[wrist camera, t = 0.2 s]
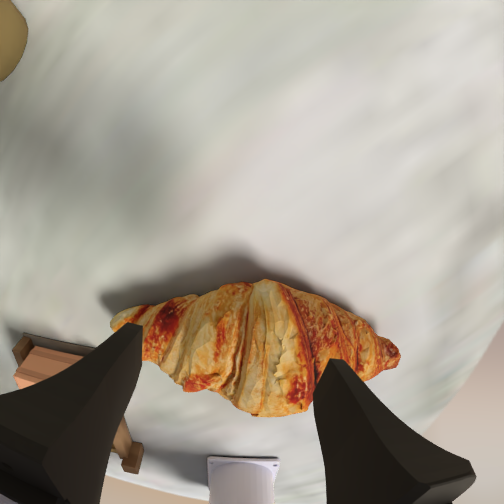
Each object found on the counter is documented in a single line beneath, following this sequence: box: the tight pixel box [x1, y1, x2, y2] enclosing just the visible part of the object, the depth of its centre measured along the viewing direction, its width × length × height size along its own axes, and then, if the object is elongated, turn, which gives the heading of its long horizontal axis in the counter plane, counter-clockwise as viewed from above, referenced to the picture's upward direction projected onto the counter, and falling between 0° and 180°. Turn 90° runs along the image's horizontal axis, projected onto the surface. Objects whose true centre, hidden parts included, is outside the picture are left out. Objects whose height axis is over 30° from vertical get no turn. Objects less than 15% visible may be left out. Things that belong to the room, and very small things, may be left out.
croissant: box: [110, 279, 401, 417], centre depth 21 cm, size 21×10×8 cm, turn 83°
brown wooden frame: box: [12, 333, 144, 474], centre depth 25 cm, size 15×11×4 cm
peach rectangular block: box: [13, 346, 83, 389], centre depth 23 cm, size 6×6×4 cm
